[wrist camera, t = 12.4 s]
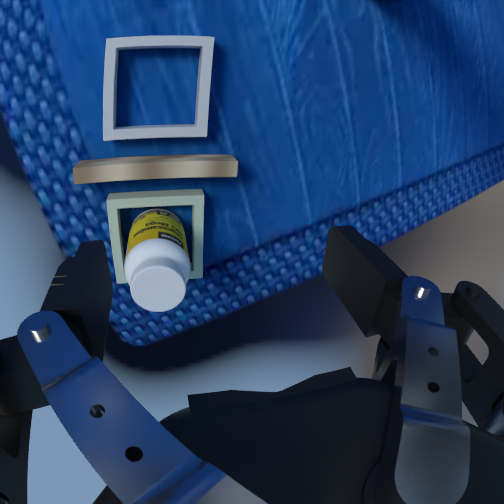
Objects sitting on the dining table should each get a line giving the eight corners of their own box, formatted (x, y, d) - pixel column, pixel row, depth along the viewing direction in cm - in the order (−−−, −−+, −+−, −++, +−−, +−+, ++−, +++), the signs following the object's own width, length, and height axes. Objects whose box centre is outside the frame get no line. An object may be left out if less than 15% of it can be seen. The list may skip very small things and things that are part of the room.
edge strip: (231, 154, 33) (238, 161, 30) (230, 169, 33) (236, 176, 31) (80, 160, 28) (73, 168, 26) (81, 175, 29) (74, 184, 26)
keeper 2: (201, 189, 34) (204, 195, 32) (200, 268, 38) (202, 277, 37) (109, 193, 31) (106, 199, 29) (118, 273, 36) (117, 283, 34)
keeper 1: (211, 39, 26) (214, 36, 24) (204, 134, 31) (206, 136, 29) (109, 41, 23) (106, 38, 21) (106, 137, 28) (103, 140, 26)
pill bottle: (185, 207, 34) (198, 258, 25) (182, 256, 37) (193, 318, 28) (129, 205, 32) (119, 257, 23) (129, 256, 35) (124, 319, 26)
